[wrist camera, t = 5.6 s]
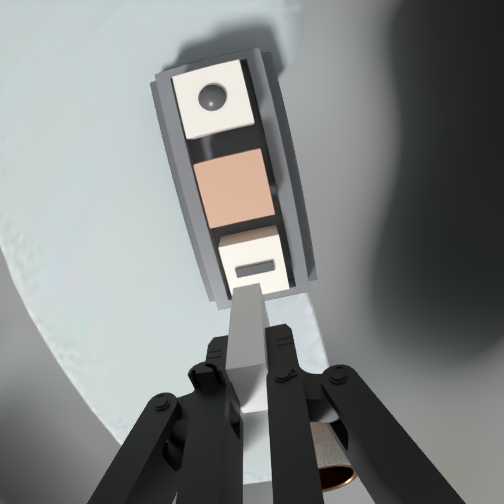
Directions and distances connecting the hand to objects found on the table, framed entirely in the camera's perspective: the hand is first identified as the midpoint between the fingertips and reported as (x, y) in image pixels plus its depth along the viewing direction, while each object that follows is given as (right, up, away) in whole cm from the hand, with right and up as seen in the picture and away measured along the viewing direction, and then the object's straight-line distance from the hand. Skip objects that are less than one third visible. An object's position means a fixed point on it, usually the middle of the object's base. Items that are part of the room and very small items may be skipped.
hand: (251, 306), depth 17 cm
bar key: (0, +3, +11) cm, 12 cm away
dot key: (-3, +15, +5) cm, 16 cm away
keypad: (-1, +10, +11) cm, 15 cm away
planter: (+10, -26, +25) cm, 38 cm away
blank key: (-1, +9, +8) cm, 12 cm away
